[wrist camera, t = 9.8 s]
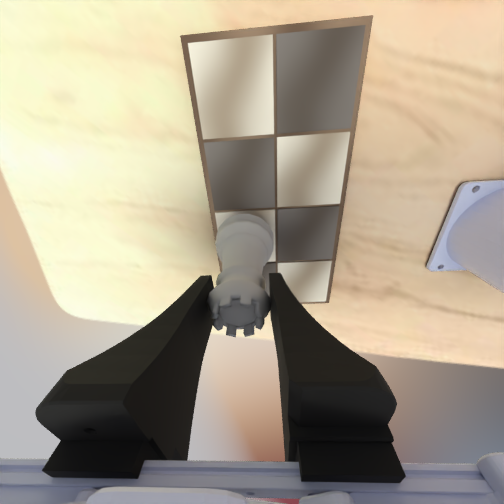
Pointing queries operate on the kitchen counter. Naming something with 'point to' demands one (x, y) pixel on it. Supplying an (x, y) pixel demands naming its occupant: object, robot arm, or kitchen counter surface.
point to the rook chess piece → (241, 274)
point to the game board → (281, 135)
